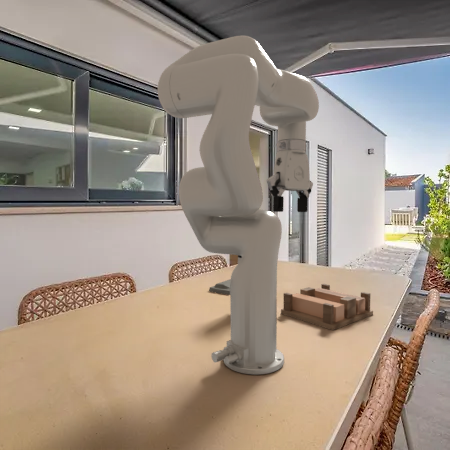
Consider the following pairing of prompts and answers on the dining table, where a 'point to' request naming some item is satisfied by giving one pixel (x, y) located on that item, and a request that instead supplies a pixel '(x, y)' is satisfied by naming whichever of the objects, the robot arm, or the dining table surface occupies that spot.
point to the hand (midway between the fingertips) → (290, 211)
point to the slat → (315, 306)
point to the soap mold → (221, 287)
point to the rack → (331, 307)
